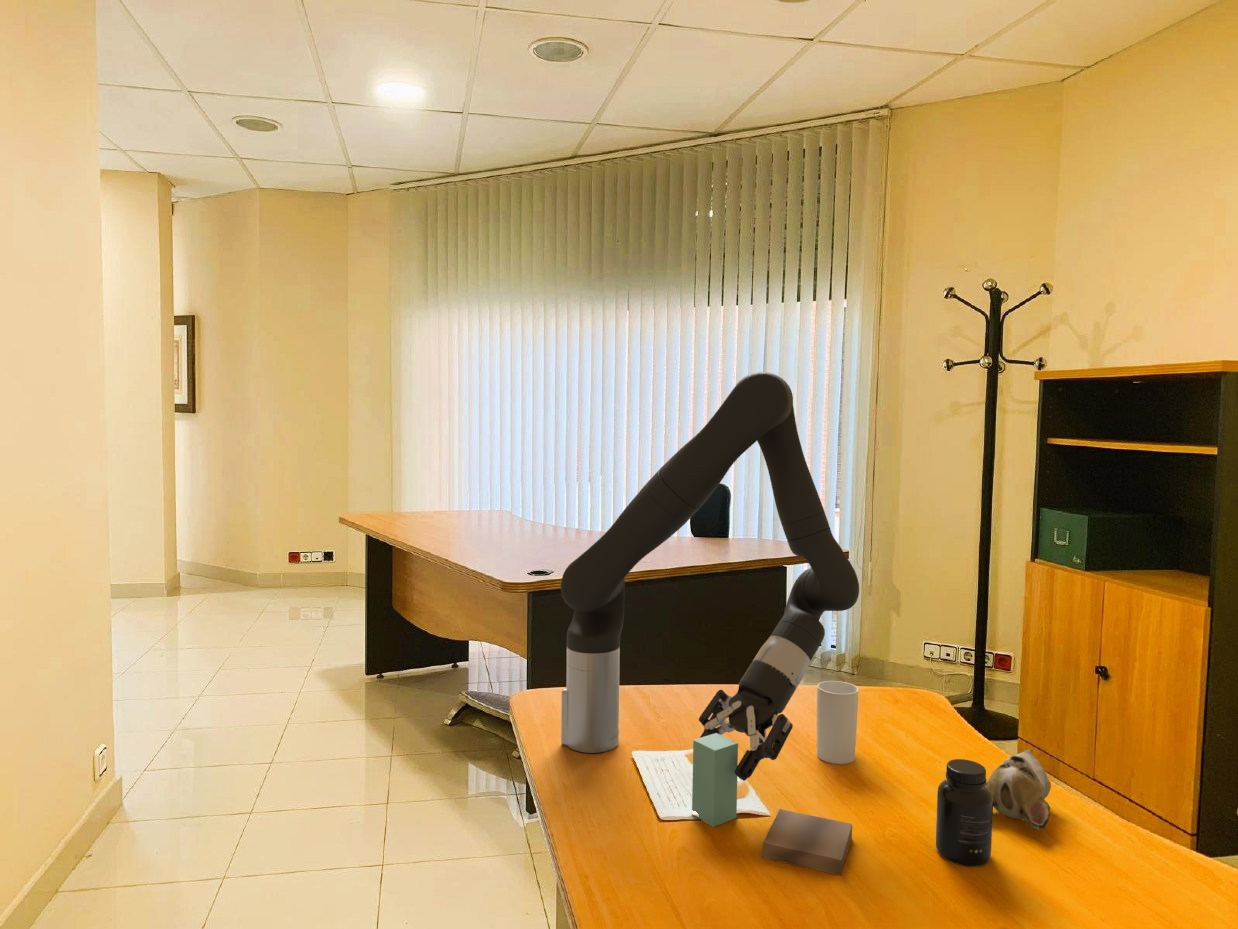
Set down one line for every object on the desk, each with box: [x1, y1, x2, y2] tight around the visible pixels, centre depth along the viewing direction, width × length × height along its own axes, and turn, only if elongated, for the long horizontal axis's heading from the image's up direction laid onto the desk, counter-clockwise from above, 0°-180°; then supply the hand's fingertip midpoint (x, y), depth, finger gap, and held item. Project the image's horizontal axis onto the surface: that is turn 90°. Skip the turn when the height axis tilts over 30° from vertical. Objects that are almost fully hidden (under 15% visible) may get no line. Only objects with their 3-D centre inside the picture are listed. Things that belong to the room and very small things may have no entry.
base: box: [762, 808, 853, 876], centre depth 110 cm, size 10×10×2 cm
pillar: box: [691, 733, 739, 828], centre depth 118 cm, size 4×4×11 cm
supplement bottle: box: [935, 758, 994, 867], centre depth 108 cm, size 7×7×12 cm
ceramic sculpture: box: [985, 749, 1052, 831], centre depth 120 cm, size 11×9×15 cm
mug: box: [816, 680, 859, 765], centre depth 140 cm, size 10×7×12 cm, turn 148°
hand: (718, 766), depth 118 cm, fingers open, 8 cm apart
